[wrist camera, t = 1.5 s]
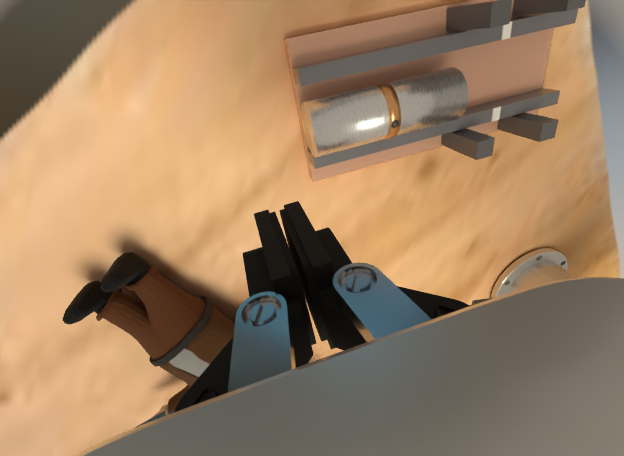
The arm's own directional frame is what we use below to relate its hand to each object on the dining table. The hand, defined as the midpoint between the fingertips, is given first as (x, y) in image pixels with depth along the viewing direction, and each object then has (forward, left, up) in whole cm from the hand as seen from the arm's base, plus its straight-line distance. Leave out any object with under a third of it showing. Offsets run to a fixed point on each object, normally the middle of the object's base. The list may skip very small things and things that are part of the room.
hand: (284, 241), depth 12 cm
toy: (-22, +9, -20) cm, 31 cm away
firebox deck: (0, -18, -19) cm, 26 cm away
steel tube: (0, -12, -18) cm, 21 cm away
